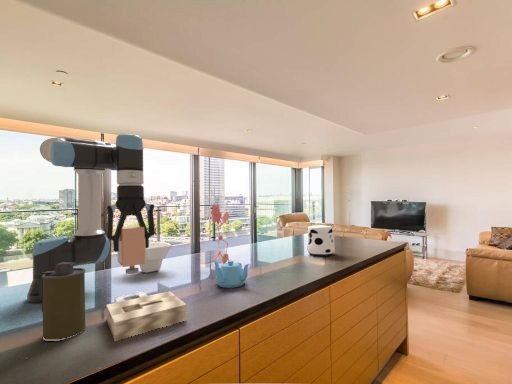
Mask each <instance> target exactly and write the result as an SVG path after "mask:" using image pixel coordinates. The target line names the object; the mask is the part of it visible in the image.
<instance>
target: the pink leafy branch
mask: <svg viewBox="0 0 512 384" xmlns="http://www.w3.org/2000/svg"><path fill="white" fill-rule="evenodd" d="M210 214H211V216H212V218H211V220H210V221H209V223H211V222H212V221H213V224H217V225H218V226H217V231H218V238H217V239H218V241H217V242H218V244H220V241H223V242H225V243H226V247H228V246H229V243H228V242H227V241H226V240H224V239H223V235H220V229H219V228H220V227H221V226H222V225H224V224H225V225H230V221H229V218H230V214H229V212H228V211H226V212H225V213H224V214H223V215H222V212H220V205H219V204H218V203H216V204H215V203H212V209H211V211H210ZM225 249H226V250H225V253H224V254H223V256H222V253H221V252H222V251H221V250H218V252H217V253H216V255H215V257H214V258H213V259H214V260H216V261H217V259H219V258H221V260H222V261H221V262H222V265H223V264H225V263H228V261H231V260H230V259H229V254H228V253H227V252H228V248H225ZM207 267H208V268H210V266H209V265H208V266H207Z"/></svg>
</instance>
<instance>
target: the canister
mask: <svg viewBox="0 0 512 384" xmlns="http://www.w3.org/2000/svg"><path fill="white" fill-rule="evenodd" d="M73 265H75V262H62V263H60V264H57V265H56V266H55V271H47V272H44V273H42V302H41V312H42V336H43V337H44V338H45V339H62V338H67V337H70V336H73V335H76V334H78V333H80V332H82V331H83V330H85V328H86V329H87V325H86V289H85V288H86V283H85V282H86V280H85V279H86V278H85V277H86V276H85V275H86V274H85V273H86V271H87V270H86V269H85V268H83V267H74V266H73ZM85 331H86V330H85ZM82 333H83V332H82Z"/></svg>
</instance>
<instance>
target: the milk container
mask: <svg viewBox="0 0 512 384" xmlns="http://www.w3.org/2000/svg"><path fill="white" fill-rule="evenodd" d="M333 229H334V228H333V226H332V225H323V224H322V225H309V226H308V227H307V238H308V241H307V244H306V245H307V246H306V248H307V252H308V254H310V255H312V256H320V257H326V256H331V255H334V253H335V249H336V247H335V242H334V230H333Z"/></svg>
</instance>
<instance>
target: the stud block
mask: <svg viewBox="0 0 512 384" xmlns="http://www.w3.org/2000/svg"><path fill="white" fill-rule="evenodd" d="M119 240H121V241H122V263H119V265H121V266H122V267H123V268H126V267H127V268H126V269H125V274H126V275H132V274H137V273H139V267H135V266H140V265H141V264H145V233H144V227H140V226H139V225H135V226H123V228H121V234H120V237H119Z"/></svg>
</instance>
